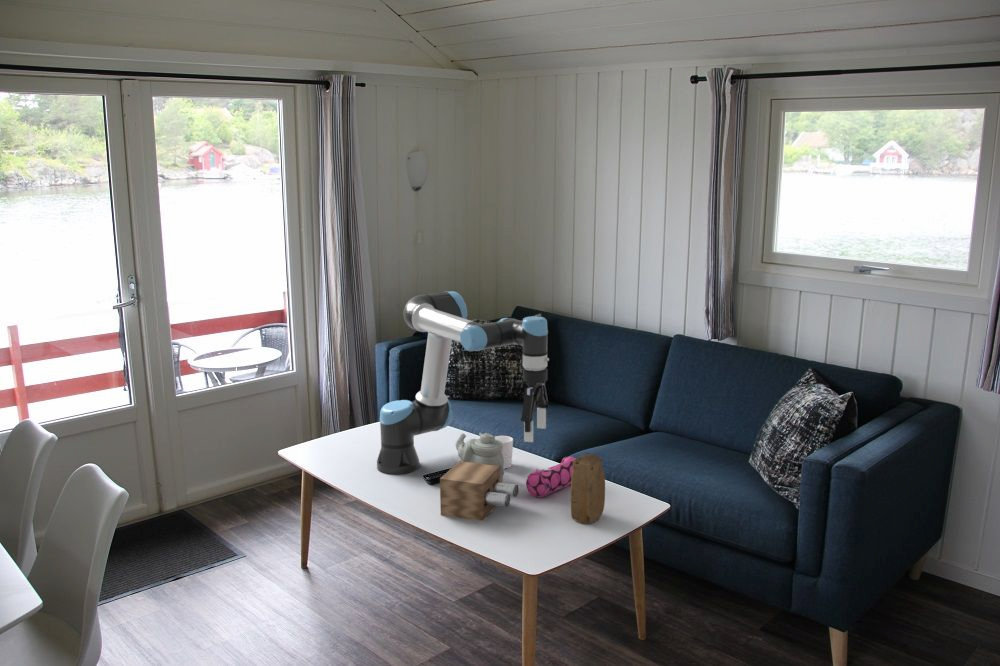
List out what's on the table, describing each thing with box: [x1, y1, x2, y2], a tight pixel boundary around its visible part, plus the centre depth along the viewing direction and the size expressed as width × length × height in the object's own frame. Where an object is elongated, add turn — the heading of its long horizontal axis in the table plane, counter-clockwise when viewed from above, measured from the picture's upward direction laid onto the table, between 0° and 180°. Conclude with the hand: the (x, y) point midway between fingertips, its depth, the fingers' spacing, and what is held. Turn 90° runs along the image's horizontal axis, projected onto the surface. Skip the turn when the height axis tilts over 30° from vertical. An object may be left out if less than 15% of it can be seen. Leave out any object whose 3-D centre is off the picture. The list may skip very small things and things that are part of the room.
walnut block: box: [439, 460, 500, 522], centre depth 273 cm, size 14×16×12 cm
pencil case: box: [525, 456, 577, 498], centre depth 288 cm, size 21×10×10 cm, turn 141°
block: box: [570, 453, 606, 524], centre depth 264 cm, size 11×8×20 cm
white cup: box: [494, 435, 514, 470], centre depth 309 cm, size 8×8×10 cm
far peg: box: [493, 482, 519, 498], centre depth 274 cm, size 14×4×4 cm, turn 71°
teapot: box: [455, 432, 505, 483], centre depth 292 cm, size 16×15×19 cm
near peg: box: [484, 491, 511, 508], centre depth 267 cm, size 14×4×4 cm, turn 71°
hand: (535, 434), depth 266 cm, fingers open, 13 cm apart
